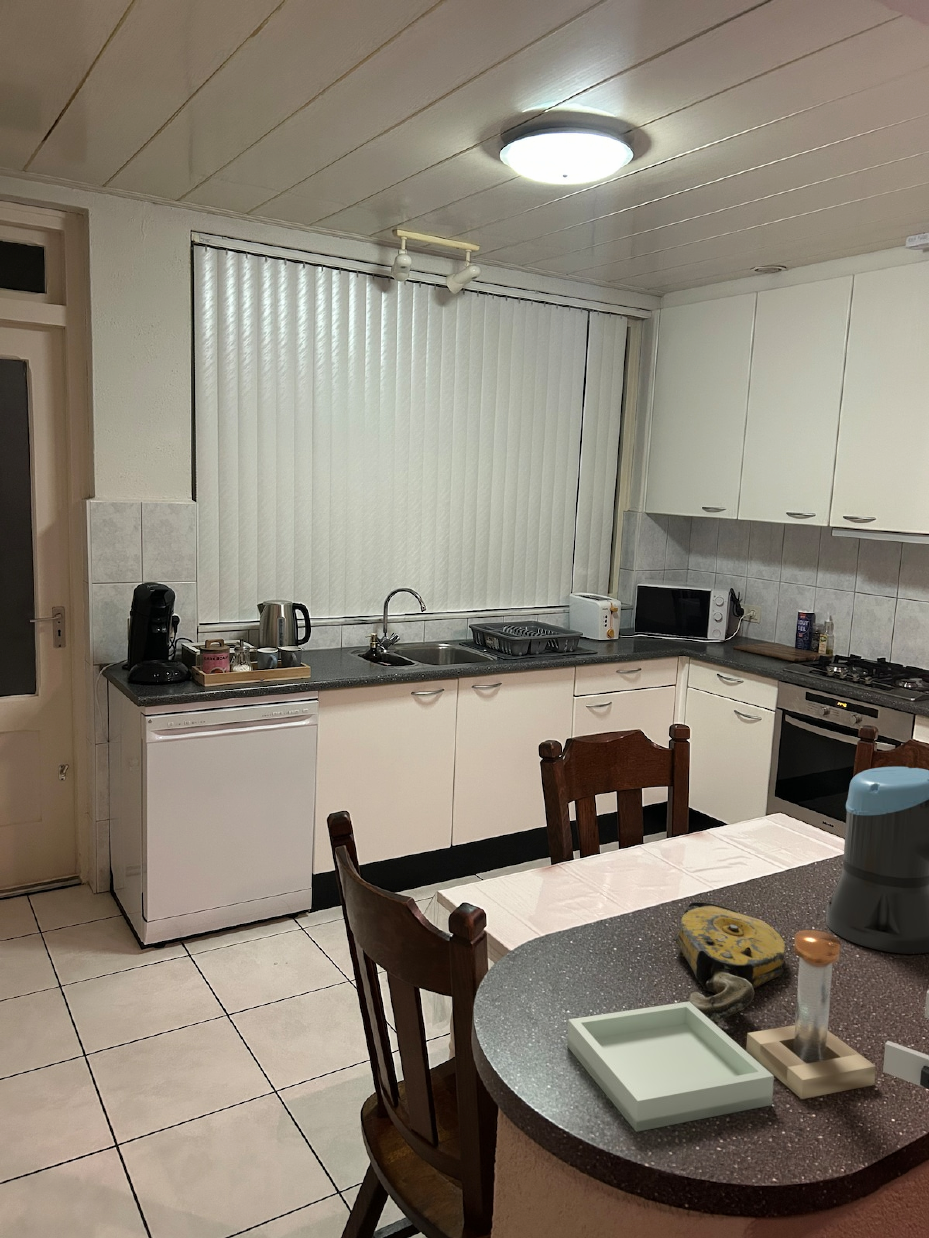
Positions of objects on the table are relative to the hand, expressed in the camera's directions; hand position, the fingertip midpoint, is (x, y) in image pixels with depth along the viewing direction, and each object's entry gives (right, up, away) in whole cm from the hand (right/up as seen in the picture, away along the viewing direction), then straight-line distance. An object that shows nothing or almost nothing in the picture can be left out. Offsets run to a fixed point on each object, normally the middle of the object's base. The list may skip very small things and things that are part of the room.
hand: (906, 1027), depth 90 cm
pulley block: (-10, -6, +27) cm, 29 cm away
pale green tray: (-23, -7, +5) cm, 24 cm away
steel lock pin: (-7, -7, +7) cm, 12 cm away
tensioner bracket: (-7, -7, +7) cm, 12 cm away
